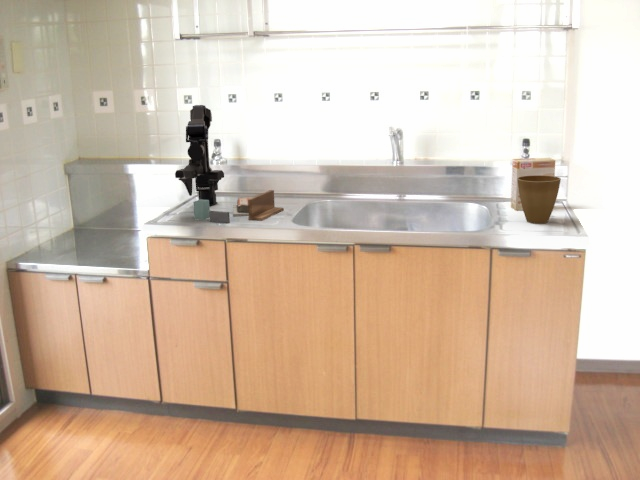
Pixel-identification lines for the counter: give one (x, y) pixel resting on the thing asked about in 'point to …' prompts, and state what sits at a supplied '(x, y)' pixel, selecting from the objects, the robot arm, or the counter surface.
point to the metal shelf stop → (219, 217)
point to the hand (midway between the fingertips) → (201, 196)
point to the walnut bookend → (262, 206)
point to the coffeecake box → (528, 174)
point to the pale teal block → (201, 209)
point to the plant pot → (538, 196)
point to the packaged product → (241, 207)
